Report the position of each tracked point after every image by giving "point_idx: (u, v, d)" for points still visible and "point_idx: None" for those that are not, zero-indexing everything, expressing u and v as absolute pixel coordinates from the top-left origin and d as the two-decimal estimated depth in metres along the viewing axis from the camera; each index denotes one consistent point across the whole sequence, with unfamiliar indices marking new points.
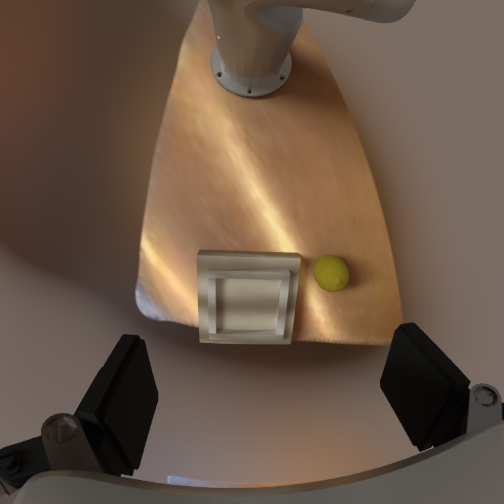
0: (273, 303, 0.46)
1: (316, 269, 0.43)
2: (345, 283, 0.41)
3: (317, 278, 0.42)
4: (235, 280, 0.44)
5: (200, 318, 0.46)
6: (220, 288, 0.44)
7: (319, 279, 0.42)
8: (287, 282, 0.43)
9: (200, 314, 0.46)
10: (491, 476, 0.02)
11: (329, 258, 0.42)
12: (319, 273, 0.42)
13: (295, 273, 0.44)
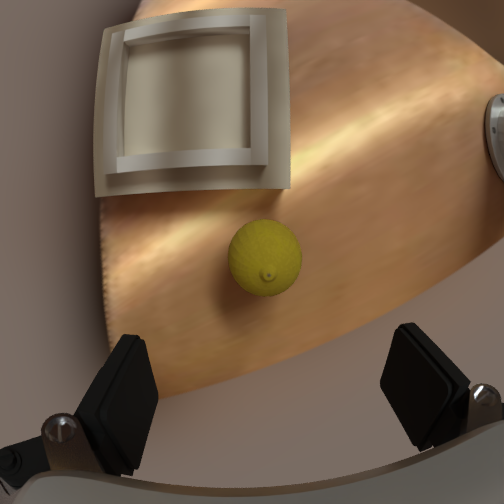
0: (185, 141, 0.20)
1: (274, 222, 0.20)
2: (261, 290, 0.19)
3: (259, 226, 0.20)
4: (237, 65, 0.18)
5: (154, 19, 0.16)
6: (219, 41, 0.17)
7: (262, 230, 0.19)
8: (244, 161, 0.19)
9: (162, 17, 0.16)
10: (491, 476, 0.02)
11: None
12: (274, 228, 0.19)
13: (257, 181, 0.21)
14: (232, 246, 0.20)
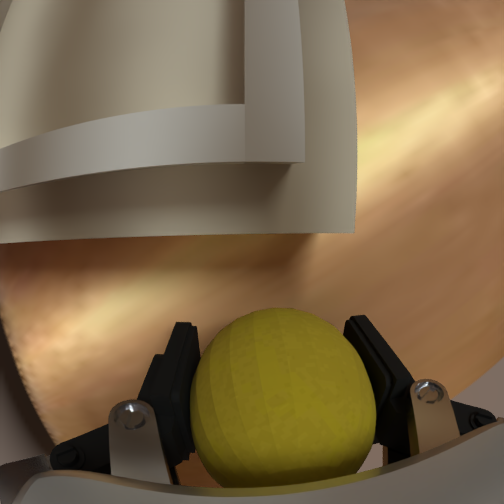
0: (73, 112, 0.06)
1: (314, 335, 0.07)
2: None
3: (272, 362, 0.06)
4: None
5: None
6: None
7: (283, 385, 0.05)
8: (223, 148, 0.05)
9: None
10: (491, 476, 0.02)
11: None
12: (319, 374, 0.06)
13: (265, 212, 0.07)
14: (195, 405, 0.06)
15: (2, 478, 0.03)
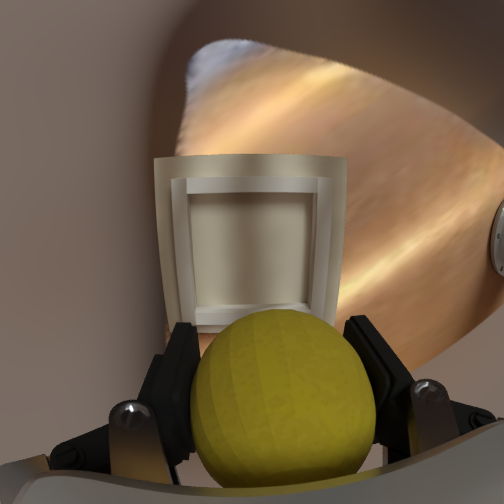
0: (253, 296, 0.25)
1: (314, 336, 0.07)
2: None
3: (272, 363, 0.06)
4: (301, 227, 0.23)
5: (213, 158, 0.21)
6: (284, 199, 0.23)
7: (283, 387, 0.05)
8: None
9: (223, 158, 0.22)
10: (491, 476, 0.02)
11: None
12: (318, 376, 0.06)
13: None
14: (196, 405, 0.06)
15: (2, 478, 0.03)
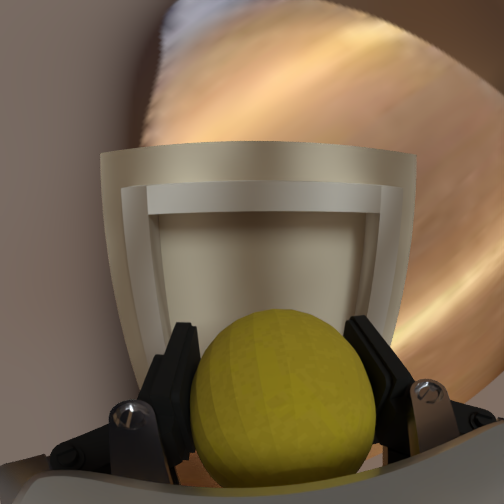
0: None
1: (313, 337, 0.07)
2: None
3: (272, 363, 0.06)
4: (345, 267, 0.14)
5: (196, 149, 0.12)
6: (320, 220, 0.13)
7: (283, 387, 0.05)
8: None
9: (214, 149, 0.12)
10: (491, 476, 0.02)
11: None
12: (319, 375, 0.06)
13: None
14: (195, 406, 0.06)
15: (2, 478, 0.03)
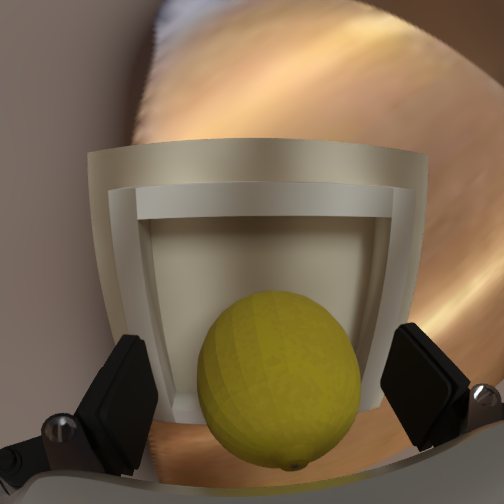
0: None
1: (304, 310, 0.08)
2: (273, 467, 0.07)
3: (269, 330, 0.07)
4: (352, 275, 0.13)
5: (191, 147, 0.11)
6: (326, 225, 0.12)
7: (278, 349, 0.07)
8: None
9: (210, 146, 0.11)
10: (491, 476, 0.02)
11: None
12: (308, 341, 0.07)
13: None
14: (203, 372, 0.08)
15: None
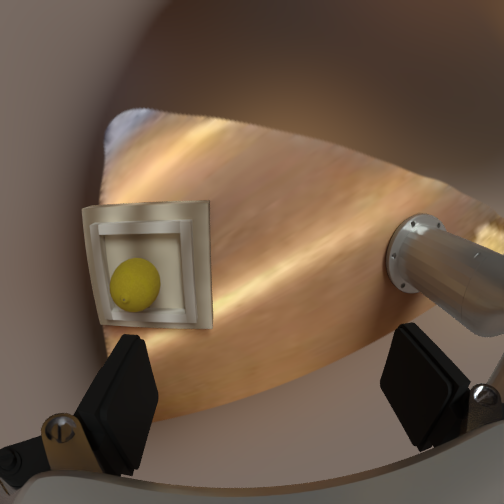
0: None
1: (137, 261, 0.28)
2: (125, 308, 0.26)
3: (125, 265, 0.27)
4: (176, 255, 0.32)
5: (116, 209, 0.30)
6: (162, 236, 0.31)
7: (124, 268, 0.26)
8: (183, 320, 0.33)
9: (122, 209, 0.30)
10: (491, 476, 0.02)
11: (155, 278, 0.28)
12: (132, 267, 0.27)
13: (193, 325, 0.35)
14: (111, 278, 0.27)
15: None
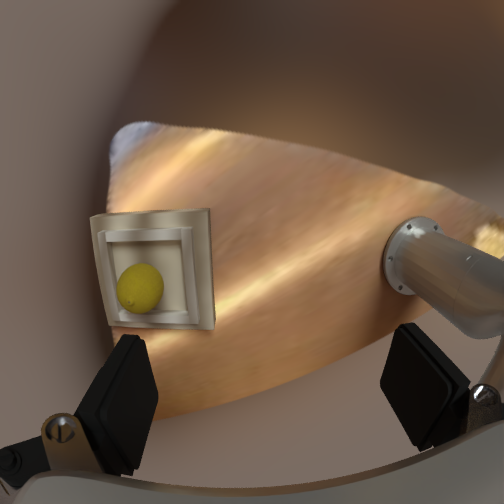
0: None
1: (142, 267, 0.30)
2: (130, 310, 0.28)
3: (130, 270, 0.29)
4: (178, 260, 0.34)
5: (121, 217, 0.33)
6: (165, 242, 0.34)
7: (129, 273, 0.29)
8: (186, 321, 0.35)
9: (127, 217, 0.33)
10: (491, 476, 0.02)
11: (158, 282, 0.30)
12: (137, 272, 0.29)
13: (196, 326, 0.37)
14: (117, 282, 0.29)
15: None
